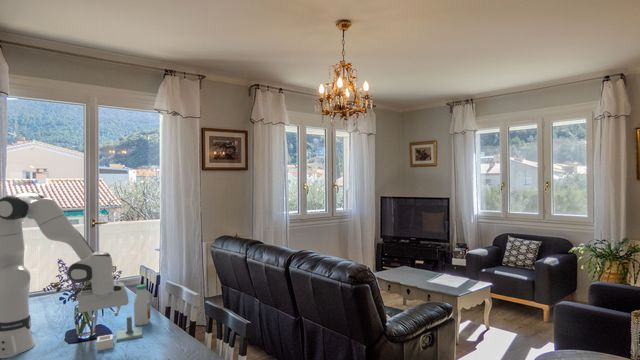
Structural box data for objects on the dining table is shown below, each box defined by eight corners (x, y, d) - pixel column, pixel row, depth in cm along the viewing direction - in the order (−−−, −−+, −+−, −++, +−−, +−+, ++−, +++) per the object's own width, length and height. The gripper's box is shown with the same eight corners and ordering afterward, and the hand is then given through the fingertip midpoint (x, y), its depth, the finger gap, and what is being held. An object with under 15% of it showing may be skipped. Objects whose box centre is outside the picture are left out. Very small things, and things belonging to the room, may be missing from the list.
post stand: (116, 341, 187) (115, 323, 186) (117, 333, 197) (116, 315, 196) (142, 337, 191) (141, 319, 191) (141, 329, 201) (141, 311, 201)
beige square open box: (96, 350, 177) (96, 341, 177) (98, 345, 183) (97, 336, 183) (112, 347, 180) (112, 339, 180) (113, 342, 186) (112, 334, 186)
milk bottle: (144, 326, 205) (143, 287, 204) (131, 325, 206) (129, 287, 206) (153, 320, 212) (152, 283, 212) (140, 320, 214) (139, 283, 213)
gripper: (75, 293, 174) (77, 324, 174) (127, 285, 182) (129, 315, 183) (77, 289, 179) (79, 320, 180) (127, 282, 188) (129, 311, 188)
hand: (104, 317), depth 181 cm, fingers open, 8 cm apart
